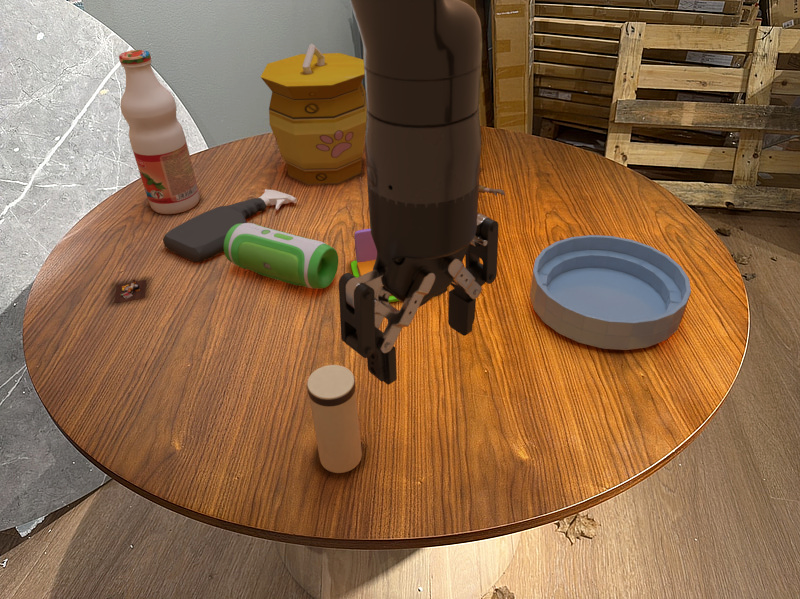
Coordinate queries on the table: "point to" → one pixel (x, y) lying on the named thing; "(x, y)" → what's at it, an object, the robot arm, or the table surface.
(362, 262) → the dollhouse room
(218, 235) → the spray bottle
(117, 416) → the table surface
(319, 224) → the table surface
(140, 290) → the diorama
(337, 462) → the beige cylindrical canister
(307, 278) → the speaker
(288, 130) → the container
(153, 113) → the fruit juice
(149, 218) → the table surface
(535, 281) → the bowl
